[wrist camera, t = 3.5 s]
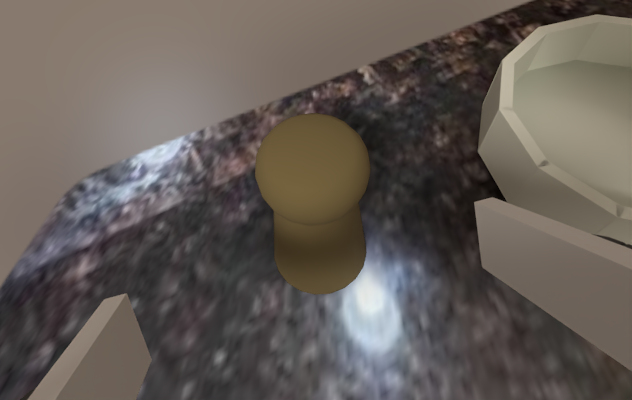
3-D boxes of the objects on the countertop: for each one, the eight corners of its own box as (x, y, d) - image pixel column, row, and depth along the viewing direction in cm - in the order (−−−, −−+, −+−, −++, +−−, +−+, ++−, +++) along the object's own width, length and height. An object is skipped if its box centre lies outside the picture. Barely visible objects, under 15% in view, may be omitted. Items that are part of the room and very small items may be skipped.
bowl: (635, 46, 34) (673, -3, 31) (813, 224, 26) (898, 186, 22) (441, 90, 33) (456, 44, 29) (561, 295, 24) (604, 269, 20)
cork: (267, 218, 28) (231, 105, 18) (353, 201, 28) (361, 81, 18) (282, 304, 25) (248, 222, 15) (377, 282, 25) (402, 190, 15)
